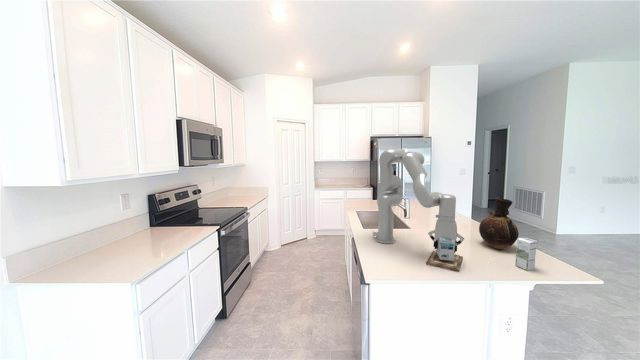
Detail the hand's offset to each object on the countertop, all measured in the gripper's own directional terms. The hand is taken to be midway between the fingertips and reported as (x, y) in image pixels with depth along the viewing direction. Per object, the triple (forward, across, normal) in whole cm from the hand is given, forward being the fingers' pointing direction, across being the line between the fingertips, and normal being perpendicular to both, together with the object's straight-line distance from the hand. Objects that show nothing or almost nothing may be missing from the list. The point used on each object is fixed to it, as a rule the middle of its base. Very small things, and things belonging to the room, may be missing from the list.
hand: (444, 250), depth 130 cm
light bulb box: (+3, 0, 0) cm, 3 cm away
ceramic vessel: (+6, +23, +39) cm, 46 cm away
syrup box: (+6, +34, +14) cm, 37 cm away
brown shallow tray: (+6, 0, 0) cm, 6 cm away
